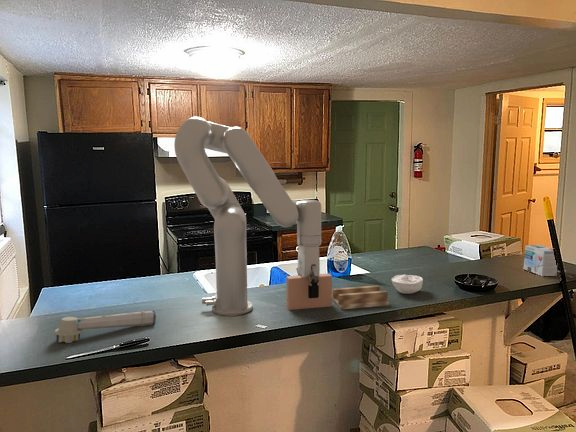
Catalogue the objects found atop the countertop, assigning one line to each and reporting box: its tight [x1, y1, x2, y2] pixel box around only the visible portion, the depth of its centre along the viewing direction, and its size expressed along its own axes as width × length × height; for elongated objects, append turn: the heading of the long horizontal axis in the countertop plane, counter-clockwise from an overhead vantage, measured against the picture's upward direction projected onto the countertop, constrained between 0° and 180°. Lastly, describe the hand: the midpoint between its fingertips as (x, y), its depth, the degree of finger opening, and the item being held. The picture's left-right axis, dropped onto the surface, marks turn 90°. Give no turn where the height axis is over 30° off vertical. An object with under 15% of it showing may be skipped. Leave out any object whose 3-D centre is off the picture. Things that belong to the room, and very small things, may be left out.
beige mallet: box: [54, 309, 157, 344], centre depth 118 cm, size 5×7×25 cm
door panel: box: [285, 273, 333, 311], centre depth 137 cm, size 14×3×10 cm, turn 102°
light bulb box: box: [523, 244, 558, 276], centre depth 173 cm, size 11×7×11 cm, turn 10°
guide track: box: [332, 284, 390, 310], centre depth 141 cm, size 16×10×4 cm, turn 102°
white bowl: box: [391, 274, 424, 295], centre depth 151 cm, size 10×12×7 cm
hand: (309, 292), depth 137 cm, fingers open, 9 cm apart
